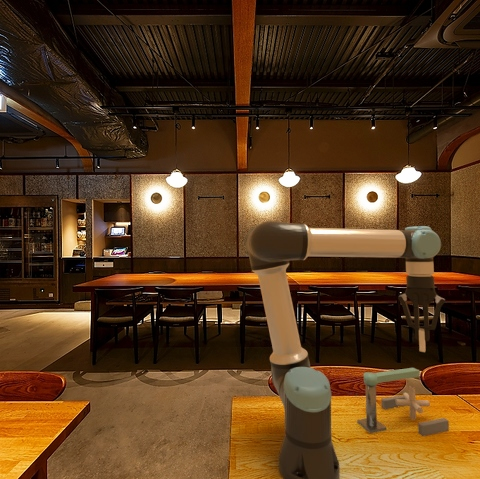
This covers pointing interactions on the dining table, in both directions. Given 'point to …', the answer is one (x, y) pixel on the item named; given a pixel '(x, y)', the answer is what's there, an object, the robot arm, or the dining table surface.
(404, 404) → the pipe connector
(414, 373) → the grey-green bar
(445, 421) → the rails
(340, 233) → the robot arm
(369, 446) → the dining table surface
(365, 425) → the pivot post
